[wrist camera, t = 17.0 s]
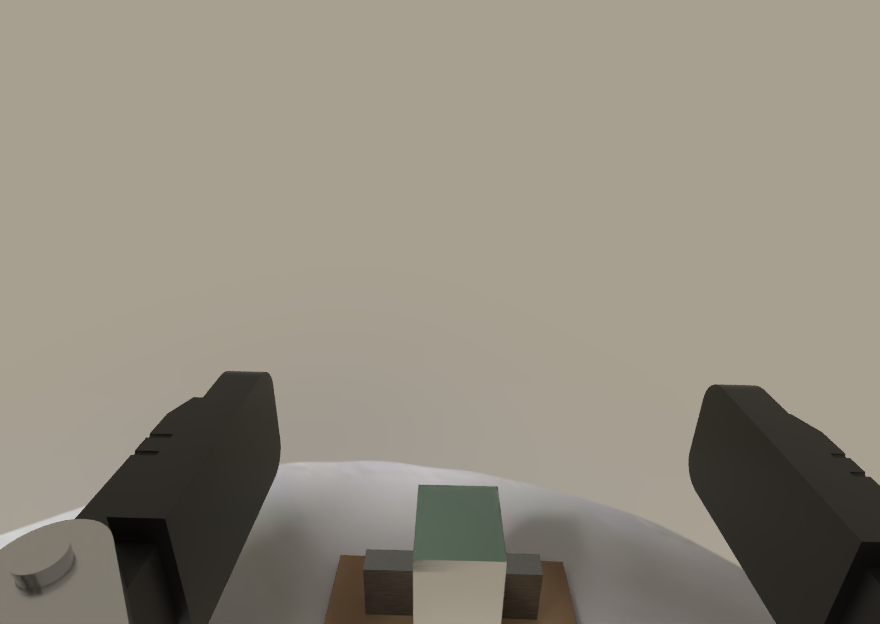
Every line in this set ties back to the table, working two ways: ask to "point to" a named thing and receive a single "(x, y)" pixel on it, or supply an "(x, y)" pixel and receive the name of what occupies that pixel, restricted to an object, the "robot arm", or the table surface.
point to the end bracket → (394, 584)
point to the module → (458, 556)
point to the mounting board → (351, 620)
